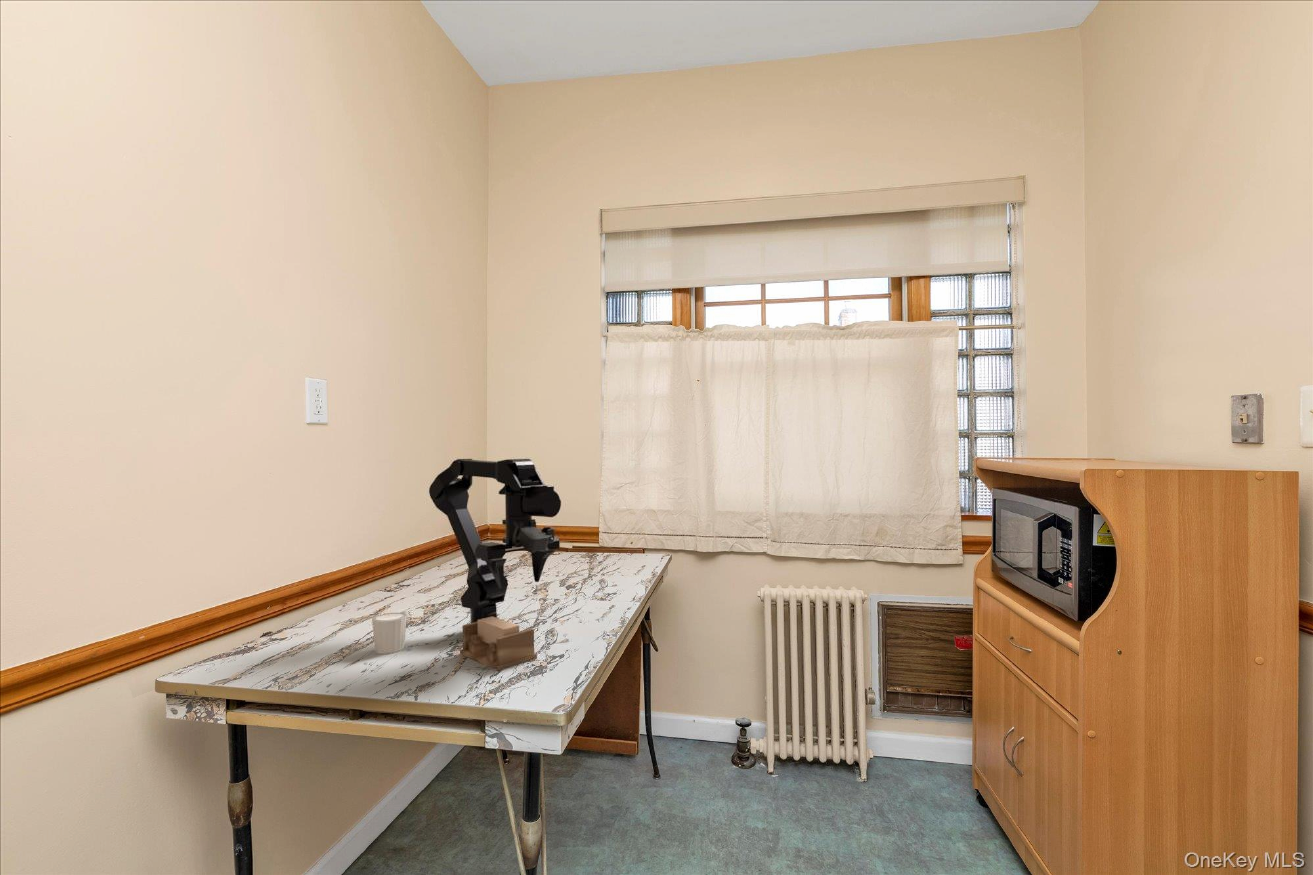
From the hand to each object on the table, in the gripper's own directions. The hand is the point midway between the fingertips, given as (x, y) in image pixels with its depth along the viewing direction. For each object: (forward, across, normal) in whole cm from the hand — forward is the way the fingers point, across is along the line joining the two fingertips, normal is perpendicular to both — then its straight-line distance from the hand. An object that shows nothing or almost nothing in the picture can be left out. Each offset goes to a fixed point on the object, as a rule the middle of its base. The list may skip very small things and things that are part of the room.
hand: (519, 585), depth 133 cm
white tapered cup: (+12, -22, +16) cm, 30 cm away
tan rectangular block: (+9, -9, -6) cm, 14 cm away
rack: (+12, -9, -6) cm, 16 cm away
